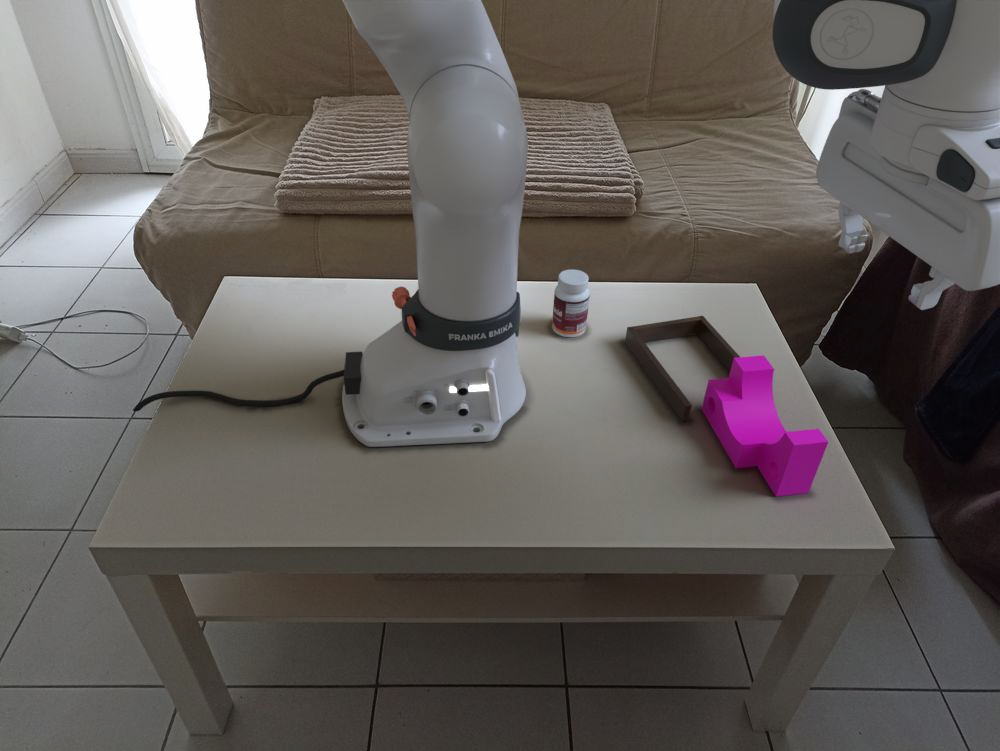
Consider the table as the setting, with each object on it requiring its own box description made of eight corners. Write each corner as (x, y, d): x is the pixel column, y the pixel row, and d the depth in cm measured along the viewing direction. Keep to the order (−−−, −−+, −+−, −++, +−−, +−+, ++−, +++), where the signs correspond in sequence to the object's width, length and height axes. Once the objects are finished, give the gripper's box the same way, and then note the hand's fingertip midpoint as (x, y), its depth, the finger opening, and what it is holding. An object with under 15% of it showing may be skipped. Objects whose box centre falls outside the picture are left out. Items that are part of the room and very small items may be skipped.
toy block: (701, 408, 92) (713, 359, 87) (749, 404, 93) (763, 355, 88) (754, 499, 80) (771, 447, 75) (808, 492, 81) (828, 441, 76)
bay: (682, 422, 90) (686, 405, 88) (624, 342, 103) (627, 327, 101) (766, 406, 92) (771, 390, 91) (699, 330, 105) (702, 315, 104)
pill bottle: (548, 320, 106) (552, 268, 101) (581, 318, 107) (586, 266, 102) (555, 339, 103) (560, 287, 98) (589, 337, 103) (595, 284, 98)
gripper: (818, 87, 65) (786, 227, 74) (1005, 191, 50) (935, 349, 60) (880, 75, 67) (840, 214, 76) (1080, 174, 52) (1000, 332, 61)
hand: (883, 275), depth 68 cm, fingers open, 8 cm apart
